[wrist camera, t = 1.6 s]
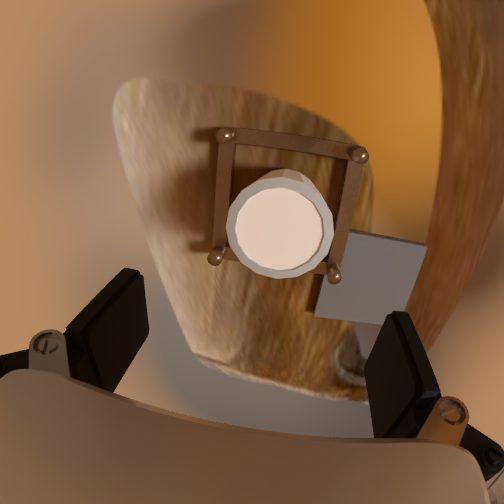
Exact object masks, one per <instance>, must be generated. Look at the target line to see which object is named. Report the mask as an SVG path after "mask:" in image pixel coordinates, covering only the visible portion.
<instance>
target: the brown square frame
mask: <svg viewBox="0 0 504 504" xmlns="http://www.w3.org/2000/svg"><path fill="white" fill-rule="evenodd" d="M215 140H216V141H217V142H218V143H219V148H218V161H217V175H216V189H215V205H214V222H213V242H212V251H211V252H210V254H209V255H208V258H207V260H208V262H209V263H210V264H211V265H213V266H217V265H219V264H220V263H221V261H222V259H227V260H234V261H240V260H239V259H238V257H237V256H236V254H235V253H234V252H233V250H232V249H231V247H230V244H229V242H228V236H227V231H226V223H227V218H228V213H229V208H230V206H231V198H232V186H233V174H234V163H235V152H236V143H238V144H248V145H257V146H265V147H273V148H281V149H288V150H295V151H302V152H308V153H314V154H320V155H326V156H331V157H337V158H342V159H346V165H345V171H344V177H343V182H342V188H341V193H340V198H339V203H338V209H337V214H336V219H335V223H334V237H333V240H332V243H331V246H330V248H329V251H328V257H327V258H326V257H324V258H323V259H322V261H321V262H320V263H319V264H318V265H317V266H316V267H315V268H314V269H312V270H310V271H308V272H310V273H317V274H323V275H327V279H328V282H329V283H330V284H333V285H335V284H338V283H339V282H340V281H341V279H342V277H341V273H340V267H341V263H342V259H343V255H344V251H345V247H346V243H347V239H348V234H349V230H350V226H351V221H352V217H353V212H354V208H355V203H356V198H357V193H358V188H359V183H360V178H361V172H362V167H363V164H364V163H366V162H367V161H368V159H369V154H368V152H367V151H366V150H365V149H366V148H365V147H362V146H357V145H352V144H347V143H342V142H337V141H331V140H326V139H320V138H314V137H308V136H301V135H295V134H287V133H280V132H272V131H264V130H254V129H244V128H233V127H220V129H218V130H217V131H216V133H215ZM329 252H330V253H329ZM240 262H241V261H240Z"/></svg>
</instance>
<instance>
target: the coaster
mask: <svg viewBox="0 0 504 504" xmlns="http://www.w3.org/2000/svg"><path fill="white" fill-rule="evenodd" d="M426 250H427V246H426V245H425V243H420V242H415V241H410V240H405V239H399V238H394V237H389V236H384V235H378V234H373V233H367V232H362V231H356V230H349V234H348V239H347V243H346V247H345V251H344V255H343V259H342V263H341V267H340V273H341V277H342V279H341V281H340V282H339V283H338V284H335V285H333V284H330V283H329V282H328V279H327V275H323V277H322V281H321V285H320V289H319V293H318V297H317V301H316V305H315V308H314V316H316V317H323V318H331V319H339V320H347V321H355V322H363V323H373V324H381V325H383V323H384V321H385V318H386V316H387V315H388V314H391V313H392V311H394V310H395V311H404V309H405V306H406V304H407V302H408V299H409V297H410V294H411V292H412V289H413V287H414V284H415V281H416V279H417V276H418V273H419V270H420V268H421V265H422V262H423V259H424V256H425V253H426ZM329 253H330V252H329ZM327 257H328V255H327Z"/></svg>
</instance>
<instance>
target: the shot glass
mask: <svg viewBox="0 0 504 504" xmlns="http://www.w3.org/2000/svg"><path fill="white" fill-rule="evenodd" d="M226 231H227V236H228V240H229V244H230V247H231V249H232V250H233V252H234V253H235V254H236V256H237V257H238V259H239V260H240V261H241V263H243V264H244V265H246V266H247V267H249V268H250V269H251V270H253V271H254V272H256V273H257V274H261V275H265V276H268V277H272V278H276V279H279V278H289V277H297V276H299V275H302V274H304V273H306V272H308V271H310V270H312V269H314V268H315V267H316V266H317V265H318V264H319V263H320V262H321V261H322V259H323V258H324V257H325V256H326V255H327V254H328V251H329V248H330V246H331V243H332V240H333V237H334V228H333V217H332V213H331V211H330V210H329V208H328V206H327V204H326V203H325V201H324V199H323V197H322V196H321V194H320V193H319V192H318V190H317V189H316V187H315V186H314V185H313V183H312V182H311V181H310V180H309V179H308V178H307V177H305V176H304V175H303V174H301V173H300V172H298V171H294V170H290V169H279V170H273V171H271V172H269V173H267V174H266V175H264V176H262V177H261V178H259V179H258V180H256V181H255V182H254V183H252V184H251V185H249V186H248V187H246V188H245V189H243V190H242V191H241V192H240V194H239V195H238V196H237V198H236V199H235V201H234V202H233V203H232V205H231V206H230V208H229V213H228V218H227V223H226Z"/></svg>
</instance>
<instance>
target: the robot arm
mask: <svg viewBox="0 0 504 504" xmlns="http://www.w3.org/2000/svg"><path fill="white" fill-rule="evenodd" d="M148 333H149V324H148V316H147V308H146V298H145V288H144V278H143V276H142V275H140V272H139V271H138V270H134V269H130V268H124V269H122V270H121V271H120V272H119V273H118V274H117V275H116V276H115V277H114V278H113V279H112V280H111V281H110V282H109V283H108V284H107V285H106V286H105V287H104V288H103V289H102V290H101V291H100V292H99V293H98V294H97V295H96V296H95V297H94V299H92V301H90V303H89V304H88V305H87V306H86V307H85V308H84V309H83V310H82V311H81V312H80V313H79V314H78V315H77V316H76V317H75V318H74V319H73V320H72V322H71V323H70V324H69V325H68V326H67V327H66V331H65V332H64V333H63V334H62V333H61V332H59V331H58V330H52V329H51V330H44V331H41V332H39V333H37V334H36V335H35V336H34V337H33V338H32V339H31V341H30V344H29V349H27V350H22V351H18V352H14V353H9V354H5V355H1V356H0V504H504V451H503V449H502V447H501V446H500V445H499V444H497V443H496V442H494V441H493V440H491V439H490V438H488V437H487V436H485V435H484V434H483V433H481V432H480V431H478V430H476V429H475V428H474V427H472V426H471V425H469V424H468V420H469V412H468V409H467V407H466V406H465V404H464V403H463V402H462V401H461V400H459V399H458V398H455V397H452V396H445V397H442V396H441V393H440V388H439V385H438V383H437V380H436V377H435V375H434V372H433V370H432V367H431V365H430V362H429V360H428V357H427V355H426V352H425V350H424V347H423V345H422V343H421V340H420V338H419V336H418V333H417V331H416V329H415V327H414V324H413V322H412V320H411V318H410V316H409V314H408V312H403V311H395V310H394V311H392V313H391V314H388V315H387V316H386V318H385V321H384V323H383V326H382V328H381V330H380V333H379V335H378V337H377V340H376V342H375V344H374V347H373V349H372V351H371V353H370V355H369V357H368V359H367V362H366V364H365V367H364V374H365V380H366V386H367V392H368V398H369V404H370V411H371V418H372V424H373V432H374V438H340V437H321V436H308V435H297V434H288V433H280V432H272V431H265V430H257V429H252V428H245V427H240V426H234V425H229V424H223V423H219V422H214V421H209V420H205V419H200V418H196V417H192V416H188V415H184V414H180V413H176V412H173V411H169V410H165V409H162V408H158V407H155V406H151V405H148V404H145V403H142V402H139V401H135V400H132V399H130V398H127V397H124V396H121V395H118V394H115V393H113V392H114V390H115V389H116V387H117V385H118V384H119V382H120V380H121V379H122V377H123V375H124V374H125V372H126V371H127V369H128V367H129V365H130V364H131V362H132V361H133V359H134V357H135V356H136V354H137V352H138V351H139V349H140V348H141V346H142V344H143V343H144V341H145V340H146V338H147V336H148Z"/></svg>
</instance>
